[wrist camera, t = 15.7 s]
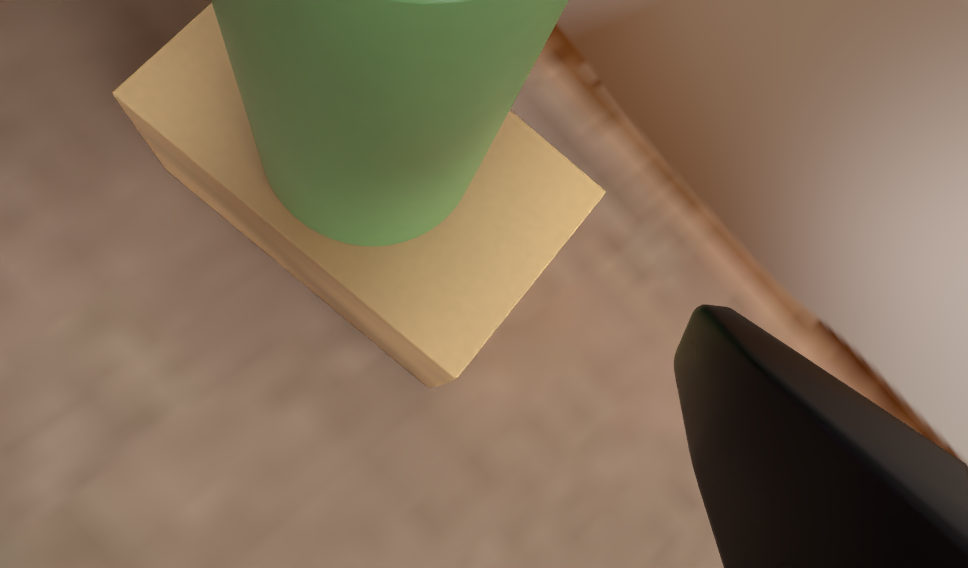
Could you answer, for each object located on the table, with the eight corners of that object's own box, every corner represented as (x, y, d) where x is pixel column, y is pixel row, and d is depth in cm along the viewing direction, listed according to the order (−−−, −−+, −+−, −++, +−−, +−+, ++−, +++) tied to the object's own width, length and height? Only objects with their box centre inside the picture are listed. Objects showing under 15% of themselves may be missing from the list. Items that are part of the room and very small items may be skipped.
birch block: (551, 240, 23) (607, 191, 18) (430, 389, 21) (455, 379, 16) (305, 32, 22) (294, -74, 18) (164, 168, 21) (110, 92, 16)
